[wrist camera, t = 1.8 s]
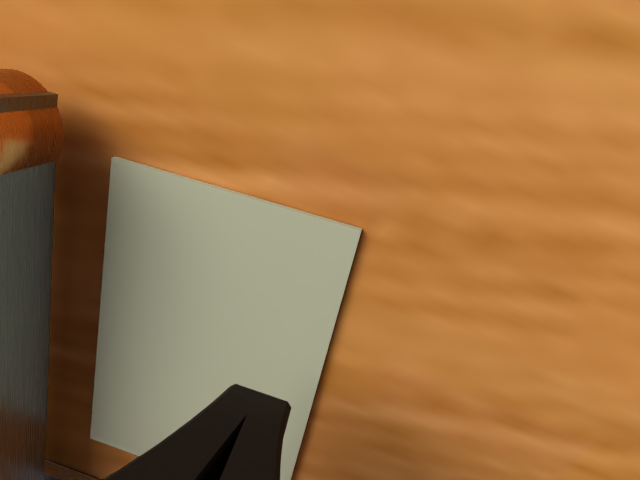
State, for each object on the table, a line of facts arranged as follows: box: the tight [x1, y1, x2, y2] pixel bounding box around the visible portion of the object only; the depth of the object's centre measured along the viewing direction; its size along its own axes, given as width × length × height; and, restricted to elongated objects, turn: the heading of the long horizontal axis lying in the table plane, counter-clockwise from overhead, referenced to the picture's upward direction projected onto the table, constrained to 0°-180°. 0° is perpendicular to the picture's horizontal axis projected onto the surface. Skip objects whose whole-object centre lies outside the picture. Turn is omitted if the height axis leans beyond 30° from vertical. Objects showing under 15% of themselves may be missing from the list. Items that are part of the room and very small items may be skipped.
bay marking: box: [90, 156, 362, 480], centre depth 15 cm, size 10×7×1 cm
